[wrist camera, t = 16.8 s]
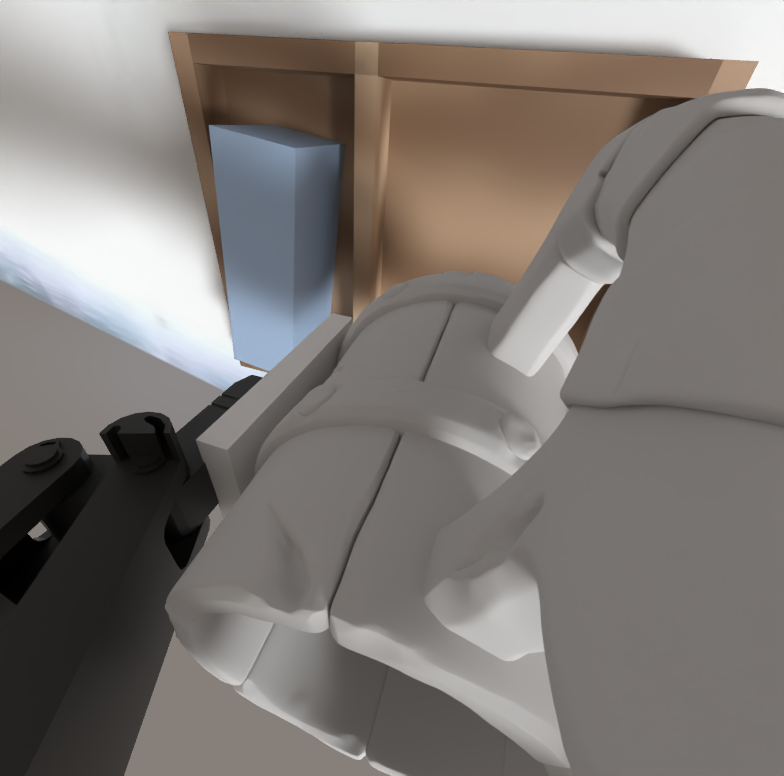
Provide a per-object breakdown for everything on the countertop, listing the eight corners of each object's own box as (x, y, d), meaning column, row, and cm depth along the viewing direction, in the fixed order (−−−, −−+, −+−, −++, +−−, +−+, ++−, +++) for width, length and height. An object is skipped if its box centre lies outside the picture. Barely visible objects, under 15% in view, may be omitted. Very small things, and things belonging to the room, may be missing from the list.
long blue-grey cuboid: (274, 125, 19) (208, 124, 15) (345, 143, 18) (295, 148, 15) (278, 324, 26) (234, 358, 23) (328, 341, 26) (292, 379, 22)
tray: (206, 41, 18) (168, 31, 16) (726, 70, 14) (759, 61, 12) (260, 349, 29) (240, 365, 27) (559, 422, 24) (561, 448, 23)
